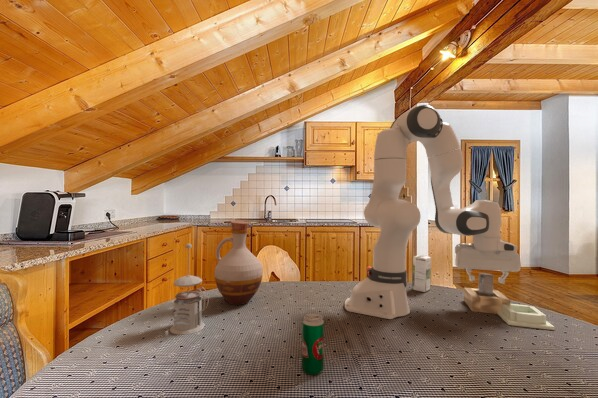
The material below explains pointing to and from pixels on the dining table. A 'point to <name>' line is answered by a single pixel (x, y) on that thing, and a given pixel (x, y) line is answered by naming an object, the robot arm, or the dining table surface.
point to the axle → (485, 285)
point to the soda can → (312, 344)
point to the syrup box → (421, 273)
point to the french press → (188, 305)
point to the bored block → (485, 301)
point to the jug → (238, 268)
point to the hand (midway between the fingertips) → (486, 282)
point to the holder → (524, 316)
